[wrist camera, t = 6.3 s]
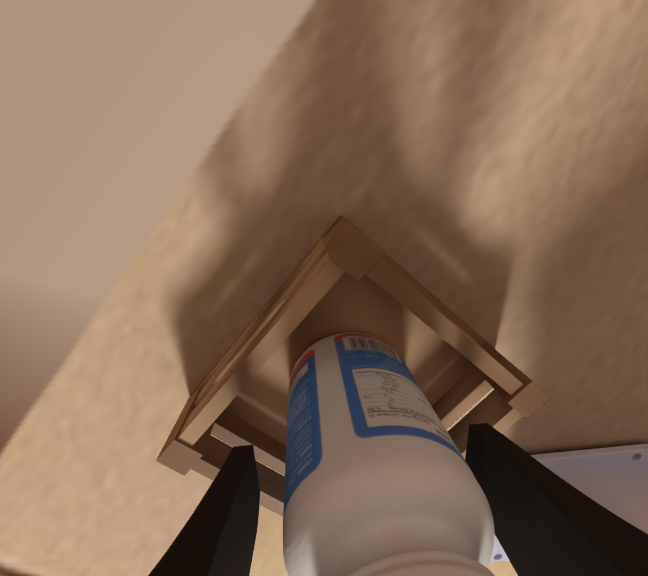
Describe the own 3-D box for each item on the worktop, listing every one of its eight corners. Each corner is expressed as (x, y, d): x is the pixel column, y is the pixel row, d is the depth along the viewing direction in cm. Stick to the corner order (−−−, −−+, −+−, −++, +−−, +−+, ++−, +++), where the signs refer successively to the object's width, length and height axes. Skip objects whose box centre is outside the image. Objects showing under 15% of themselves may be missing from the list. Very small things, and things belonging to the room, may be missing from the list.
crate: (340, 215, 13) (355, 226, 9) (495, 350, 15) (551, 397, 12) (189, 397, 15) (155, 460, 11) (346, 489, 17) (357, 563, 14)
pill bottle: (324, 445, 16) (357, 828, 6) (266, 363, 14) (196, 717, 5) (424, 396, 15) (621, 736, 6) (376, 306, 13) (543, 576, 4)
